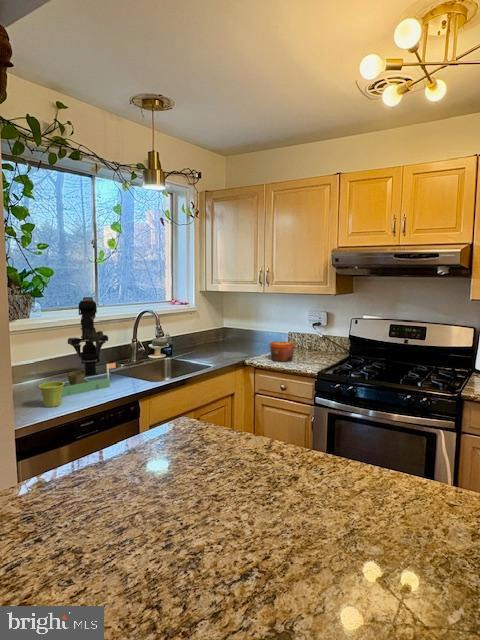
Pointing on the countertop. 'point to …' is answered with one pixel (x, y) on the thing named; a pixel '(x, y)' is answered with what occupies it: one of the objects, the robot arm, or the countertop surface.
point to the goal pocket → (88, 384)
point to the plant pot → (52, 393)
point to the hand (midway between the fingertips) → (88, 356)
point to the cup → (76, 377)
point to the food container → (282, 351)
